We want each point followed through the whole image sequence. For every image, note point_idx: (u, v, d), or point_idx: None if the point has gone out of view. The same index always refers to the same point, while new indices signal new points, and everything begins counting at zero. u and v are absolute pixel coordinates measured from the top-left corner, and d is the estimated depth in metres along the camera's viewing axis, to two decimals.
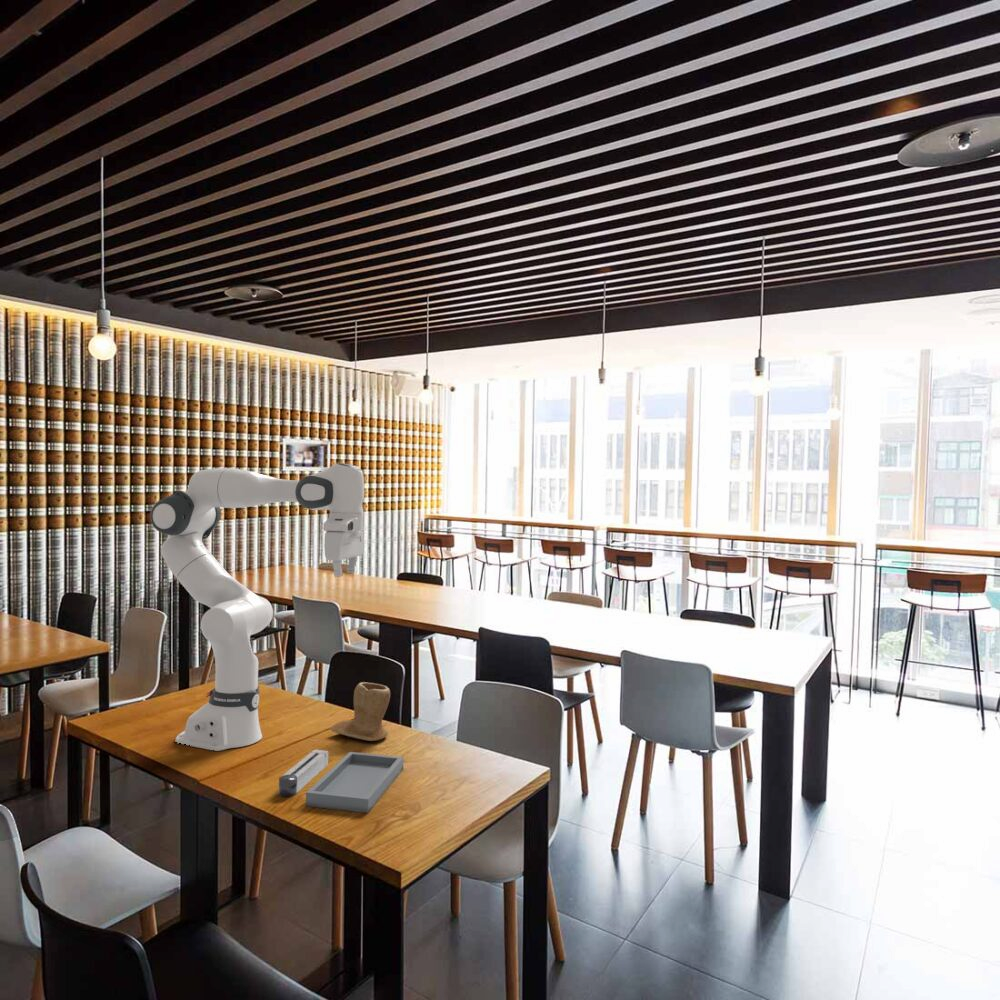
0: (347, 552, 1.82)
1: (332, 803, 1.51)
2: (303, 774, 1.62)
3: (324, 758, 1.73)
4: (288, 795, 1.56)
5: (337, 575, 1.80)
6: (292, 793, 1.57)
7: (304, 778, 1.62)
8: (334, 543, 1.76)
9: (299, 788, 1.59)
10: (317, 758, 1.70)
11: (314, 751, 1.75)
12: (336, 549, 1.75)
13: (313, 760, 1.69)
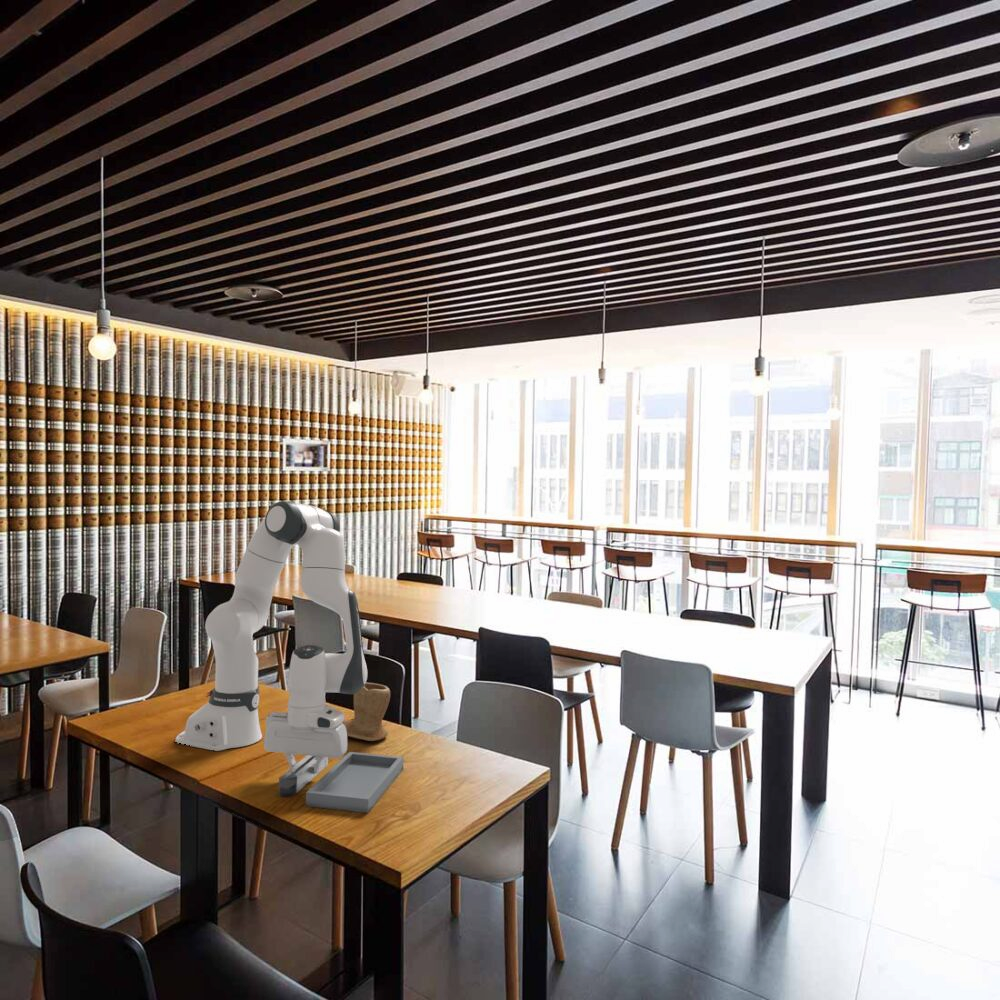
0: None
1: (332, 803, 1.51)
2: (303, 774, 1.62)
3: (324, 758, 1.73)
4: (288, 795, 1.56)
5: (317, 771, 1.66)
6: (292, 793, 1.57)
7: (304, 778, 1.62)
8: (345, 736, 1.65)
9: (299, 788, 1.59)
10: None
11: None
12: (346, 743, 1.66)
13: (313, 760, 1.69)
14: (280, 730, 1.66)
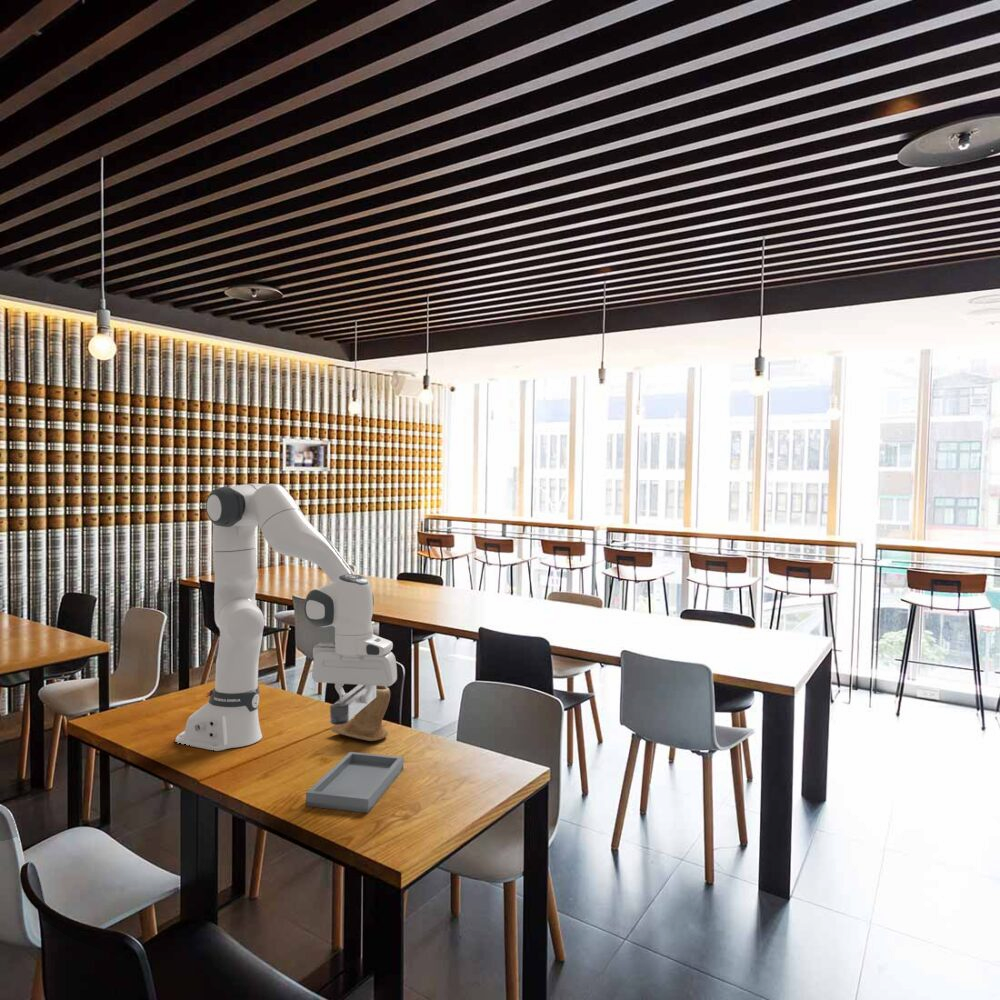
0: None
1: (332, 803, 1.51)
2: (354, 703, 1.58)
3: (372, 690, 1.70)
4: (340, 722, 1.53)
5: (367, 701, 1.62)
6: (344, 721, 1.53)
7: (355, 706, 1.59)
8: (394, 665, 1.62)
9: (350, 716, 1.56)
10: (366, 689, 1.67)
11: None
12: (396, 671, 1.62)
13: (362, 691, 1.65)
14: (328, 660, 1.62)
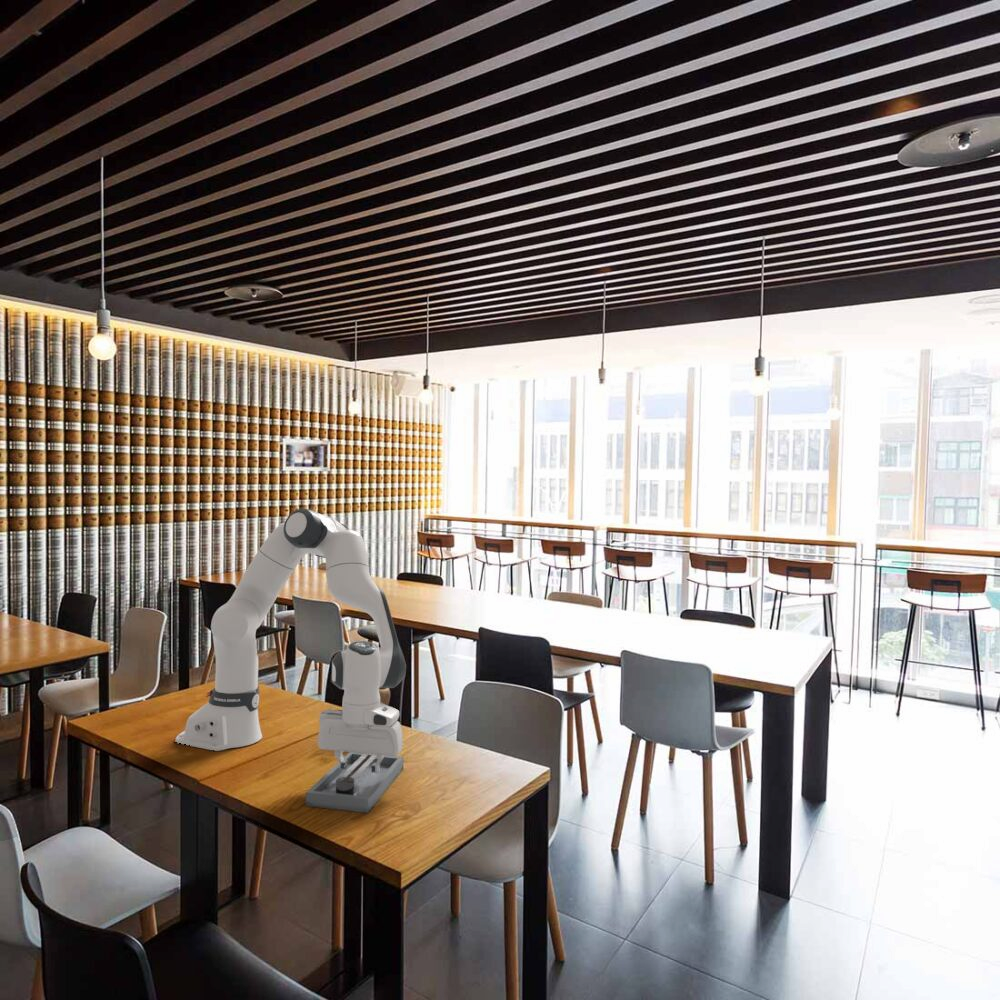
0: None
1: (332, 803, 1.51)
2: (359, 776, 1.59)
3: (376, 760, 1.70)
4: None
5: (378, 770, 1.63)
6: None
7: (360, 780, 1.59)
8: (400, 734, 1.63)
9: (355, 790, 1.57)
10: (370, 760, 1.67)
11: None
12: (402, 741, 1.63)
13: (367, 762, 1.66)
14: (334, 727, 1.63)
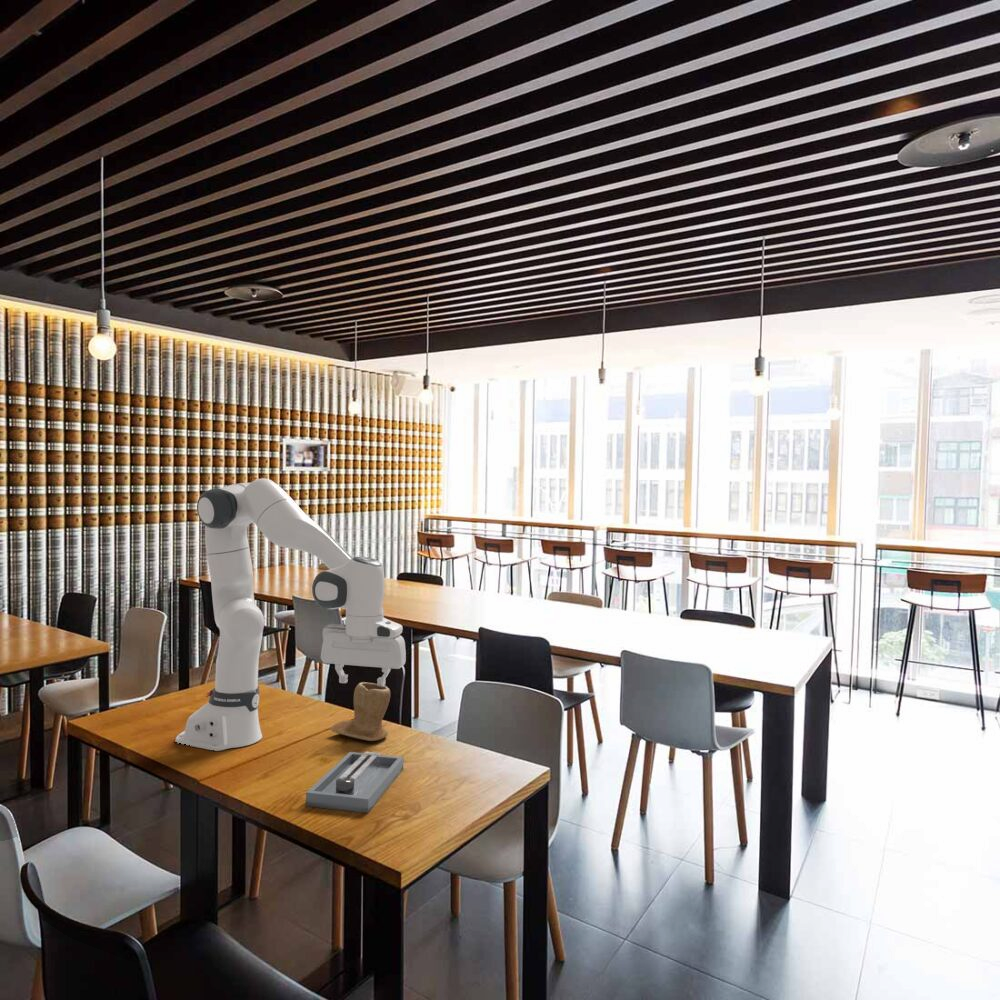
0: None
1: (332, 803, 1.51)
2: (359, 776, 1.59)
3: (376, 760, 1.70)
4: None
5: (384, 684, 1.63)
6: None
7: (360, 780, 1.59)
8: (403, 648, 1.63)
9: (355, 790, 1.57)
10: (370, 760, 1.67)
11: (366, 753, 1.72)
12: (405, 654, 1.63)
13: (367, 762, 1.66)
14: (338, 641, 1.63)
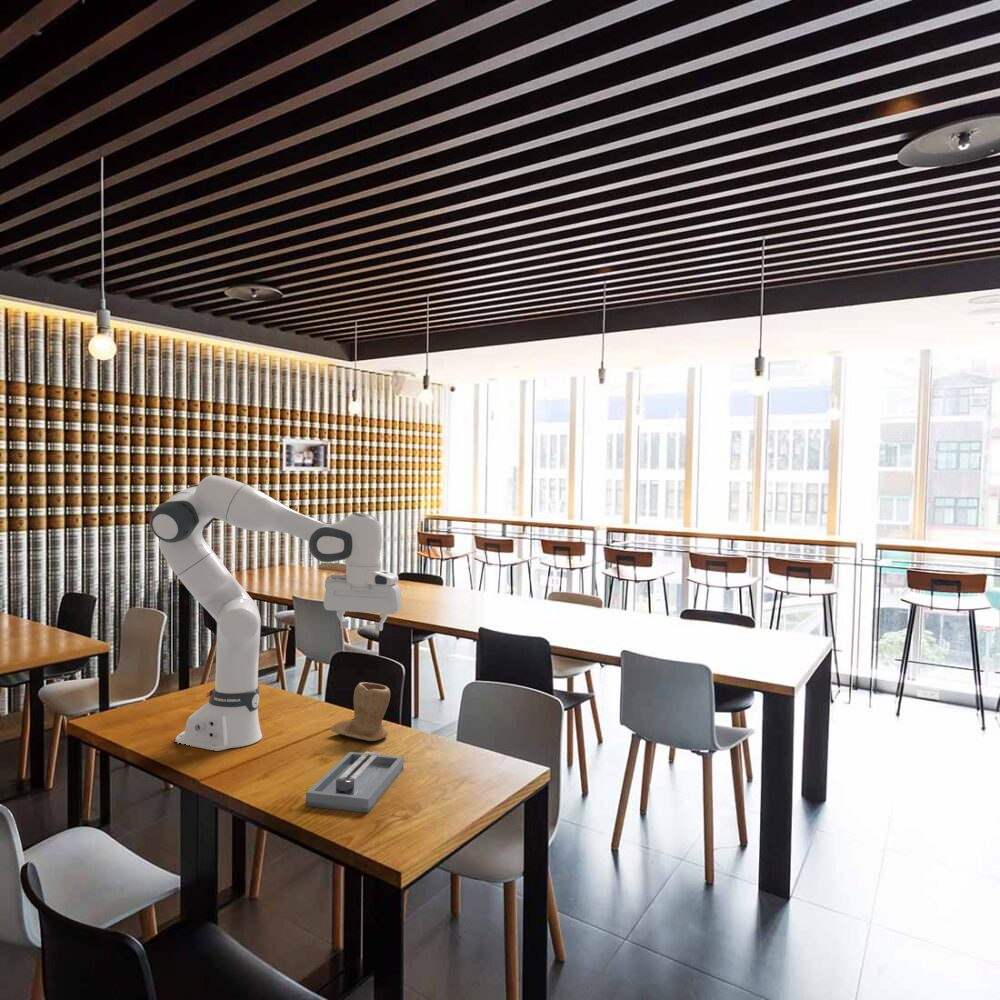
0: None
1: (332, 803, 1.51)
2: (359, 776, 1.59)
3: (376, 760, 1.70)
4: None
5: (381, 628, 1.78)
6: None
7: (360, 780, 1.59)
8: (399, 595, 1.78)
9: (355, 790, 1.57)
10: (370, 760, 1.67)
11: (366, 753, 1.72)
12: (400, 602, 1.78)
13: (367, 762, 1.66)
14: (339, 589, 1.78)
